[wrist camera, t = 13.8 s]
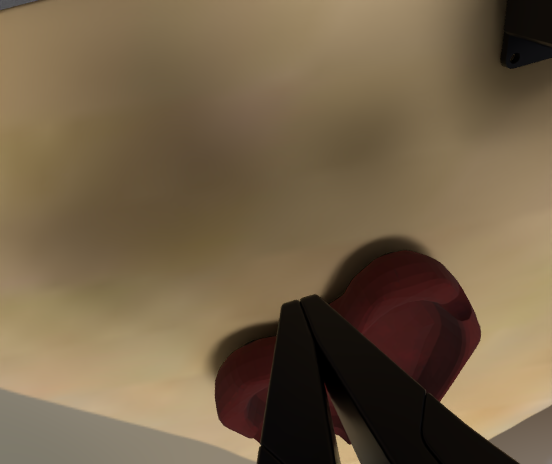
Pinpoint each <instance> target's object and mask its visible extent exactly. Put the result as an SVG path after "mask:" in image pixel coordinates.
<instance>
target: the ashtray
mask: <svg viewBox="0 0 552 464" xmlns="http://www.w3.org/2000/svg"><path fill="white" fill-rule="evenodd" d="M329 305H330V306H331V307H332V308H333V309H334V310H335V311H337V312H338V313H339V314H340V315H341V316H342V317H343V318H344V319H346V320H347V321H348V322H349V323H350V324H351V325H352V326H354V327H355V328H356V329H357V330H358V331H359V332H360V333H362V334H363V335H364V336H365V337H366V338H367V339H368V340H370V341H371V342H372V343H373V344H374V345H375V346H376V347H377V348H379V349H380V350H381V351H382V352H383V353H384V354H385V355H387V356H388V357H389V358H390V359H391V360H392V361H393V362H395V363H396V364H397V365H398V366H399V367H400V368H401V369H402V370H404V371H405V372H406V373H407V374H408V375H409V376H410V377H412V378H413V379H414V380H415V381H416V382H417V383H418V384H420V385H421V386H422V387H423V388H424V389H425V390H426V394H427V393H430V394H431V395H432V396H433V397H435V398H436V399H437V400H438V401H439V402H440V401H441V399H442V398H443V397H444V395H445V394H446V392H447V391H448V389H449V388H450V386H451V385H452V383H453V382H454V380H455V379H456V377H457V376H458V374H459V373H460V371H461V370H462V368H463V367H464V365H465V364H466V362H467V361H468V359H469V358H470V356H471V355H472V353H473V352H474V350H475V349H476V347H477V345H478V344H479V342H480V338H481V329H480V325H479V323H478V320H477V317H476V314H475V312H474V310H473V308H472V306H471V304H470V302H469V300H468V298H467V296H466V294H465V293H464V291H463V289H462V287H461V286H460V284H459V283H458V281H457V280H456V279H455V278H454V276H453V275H452V274H451V273H450V272H449V271H448V270H447V269H446V268H445V267H444V265H443V264H441V263H440V262H438V261H437V260H435V259H433V258H431V257H428V256H426V255H423V254H420V253H417V252H413V251H408V250H404V251H398V252H391V253H387V254H384V255H382V256H381V257H379V258H376V259H375V260H374V261H372V262H371V263H370V264H369V265H368V266H366V267H365V268H364V269H363V270H362V271H361V272H360V273H358V274H357V275H356V276H355V277H354V278H353V280H352V281H351V282H350V284H349V286H348V288H347V289H346V291H345V293H344V294H343V295H342V296H341V297H339V298H338V299H336V300H335V301H333V302H332V303H330V304H329ZM276 337H277V336H273V337H267V338H262V339H258V340H254V341H251V342H249V343H247V344H245V345H244V346H243V347H241V348H239V349H237V350H235V351H234V352H233V353H232V354H231V355H229V356H228V357H227V359H226V360H225V362H224V363H223V364H222V366H221V367H220V369H219V371H218V374H217V377H216V380H215V401H216V408H217V414H218V418H219V420H220V421H221V423H222V424H223V425H224V426H225V427H227V428H229V429H231V430H233V431H235V432H237V433H239V434H241V435H243V436H245V437H247V438H254V439H255V440H257V441H258V442H259V443H260V440H261V433H262V427H263V421H264V414H265V408H266V401H267V395H268V389H269V382H270V376H271V369H272V363H273V356H274V350H275V344H276ZM325 388H326V386H325ZM326 392H327V389H326ZM327 396H328V401H329V406H330V411H331V416H332V421H333V426H334V431H335V434H336V435H339V436H340V437H342V438H343V439H344V440H345V441H346V442H347V443H348V444H349V445H350V444H351V442H350V439H349V437H348V435H347V433H346V431H345V429H344V427H343V424H342V422H341V420H340V418H339V416H338V414H337V412H336V409H335V407H334V405H333V403H332V401H331V398H330V396H329V394H328V392H327Z"/></svg>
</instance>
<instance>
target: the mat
mask: <svg viewBox="0 0 552 464" xmlns="http://www.w3.org/2000/svg"><path fill="white" fill-rule="evenodd" d="M33 1H37V0H0V10H2V9H6V8H10V7H14V6H17V5H21V4H25V3H29V2H33Z"/></svg>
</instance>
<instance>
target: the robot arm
mask: <svg viewBox="0 0 552 464" xmlns="http://www.w3.org/2000/svg"><path fill="white" fill-rule="evenodd" d="M513 54H515V56H514V58H513V59H512V60H511V61H510V59H511V57H512V55H513ZM549 58H552V0H507V8H506V16H505V24H504V36H503V44H502V52H501V64H502V66H504V67H507V68H510V69H514V68H517V67H521V66H524V65H528V64H531V63H535V62H538V61H542V60H545V59H549ZM325 386H326V388H325ZM326 389H327V392H328V394H329V396H330V398H331V401H332V403H333V405H334V407H335V409H336V412H337V414H338V416H339V418H340V420H341V422H342V424H343V427H344V429H345V431H346V433H347V435H348V437H349V439H350V442H351V444H352V446H353V448H354V450H355V452H356V455H357V457H358V459H359V461H360V463H361V464H520V463H518V462H517V461H515V460H514V459H513V458H511V457H510V456H508V455H507V454H506V453H504V452H503V451H502V450H500V449H499V448H497V447H496V446H494V445H493V444H492V443H490V442H489V441H488V440H486V439H485V438H484V437H482V436H481V435H480V434H478V433H477V432H476V431H474V430H473V429H472V428H470V427H469V426H468V425H467V424H465V423H464V422H463V421H462V420H460V419H459V418H458V417H457V416H456V415H454V414H453V413H452V412H451V411H450V410H448V409H447V408H446V407H445V406H444V405H443V404H441V403H440V402H439V401H438V400H437V399H436V398H435V397H433V396H432V395H431V394H430V393H427V394H426V390H425V389H424V388H423V387H422V386H421V385H420V384H418V383H417V382H416V381H415V380H414V379H413V378H412V377H410V376H409V375H408V374H407V373H406V372H405V371H404V370H402V369H401V368H400V367H399V366H398V365H397V364H396V363H395V362H393V361H392V360H391V359H390V358H389V357H388V356H387V355H385V354H384V353H383V352H382V351H381V350H380V349H379V348H377V347H376V346H375V345H374V344H373V343H372V342H371V341H370V340H368V339H367V338H366V337H365V336H364V335H363V334H362V333H360V332H359V331H358V330H357V329H356V328H355V327H354V326H352V325H351V324H350V323H349V322H348V321H347V320H346V319H344V318H343V317H342V316H341V315H340V314H339V313H338V312H337V311H335V310H334V309H333V308H332V307H331V306H330V305H329V304H327V303H326V302H325V301H324V300H323V299H322V298H321V297H319V296H318V295H316V294H314V295H310V296H307V297H304V298H301V299H300V301H299V300H294V301H291V302H287V303H284V304H283V305H282V306H281V311H280V318H279V324H278V331H277V337H276V344H275V350H274V356H273V363H272V369H271V376H270V382H269V389H268V395H267V401H266V408H265V414H264V421H263V427H262V433H261V440H260V445H261V446H260V447H259V451H258V458H257V464H341V462H340V457H339V452H338V447H337V442H336V436H335V431H334V426H333V421H332V416H331V411H330V406H329V401H328V396H327V392H326Z"/></svg>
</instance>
